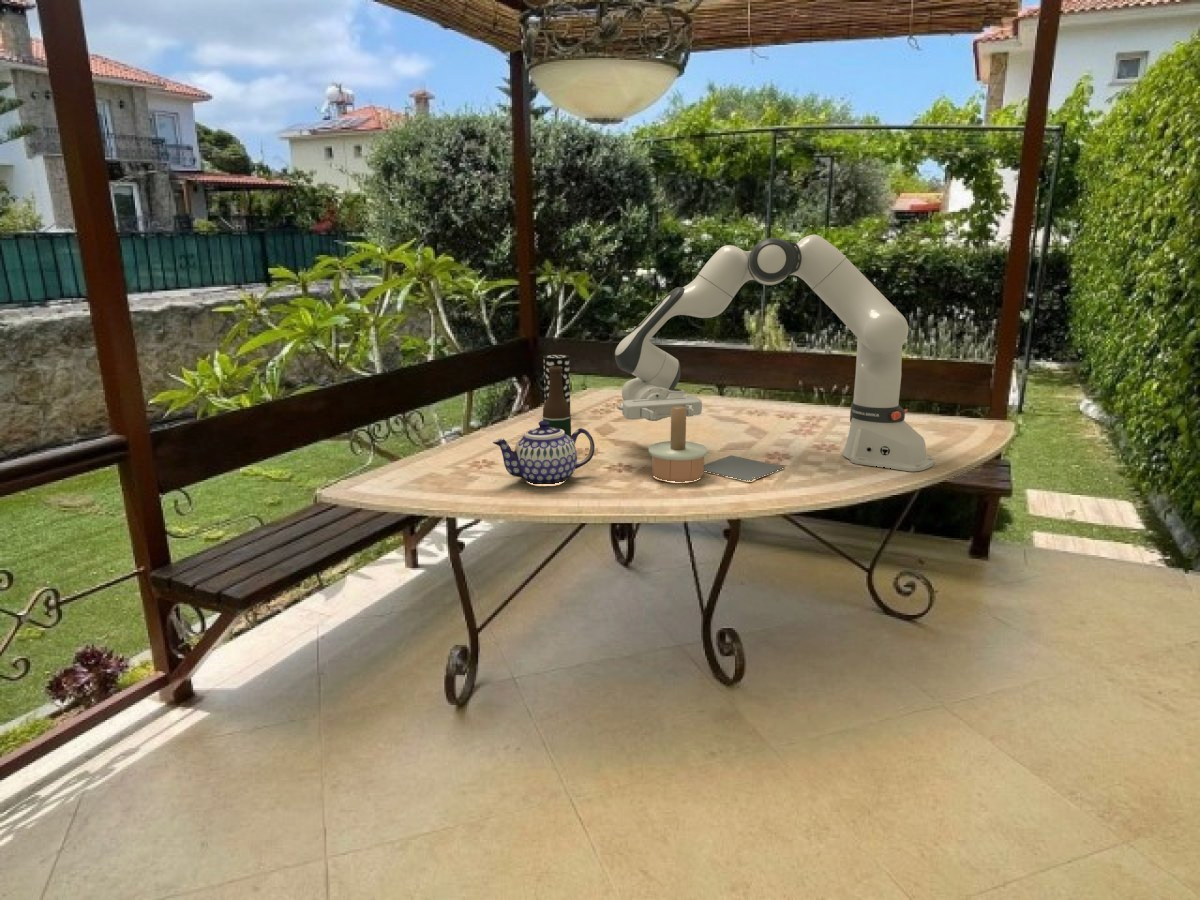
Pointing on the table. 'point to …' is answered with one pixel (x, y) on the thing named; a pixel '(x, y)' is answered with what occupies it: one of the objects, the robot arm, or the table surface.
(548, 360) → the spotted tube
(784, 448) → the table surface
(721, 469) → the mat
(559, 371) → the beer bottle
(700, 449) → the lid
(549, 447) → the teapot
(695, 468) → the bowl
